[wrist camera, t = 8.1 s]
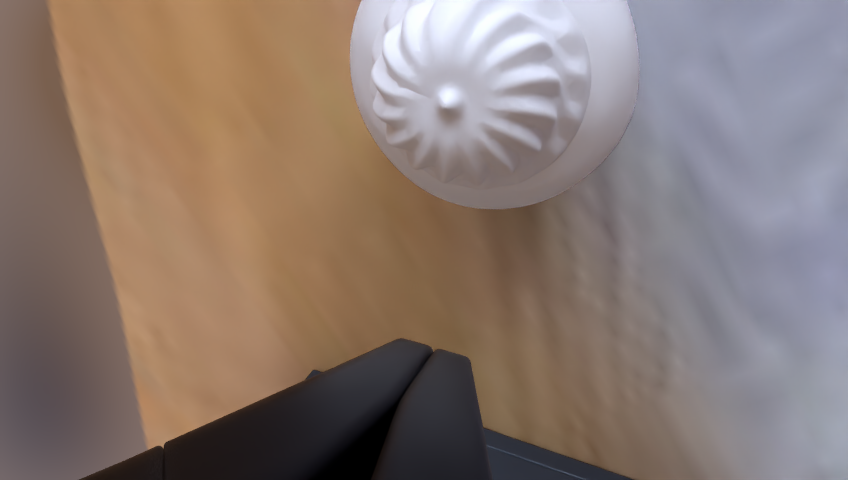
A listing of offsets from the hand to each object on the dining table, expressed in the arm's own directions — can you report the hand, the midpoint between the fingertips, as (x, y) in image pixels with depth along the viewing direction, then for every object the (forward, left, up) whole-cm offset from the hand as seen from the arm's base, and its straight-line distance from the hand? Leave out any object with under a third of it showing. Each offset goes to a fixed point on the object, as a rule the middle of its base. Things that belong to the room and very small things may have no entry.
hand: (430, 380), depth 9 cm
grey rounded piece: (+2, -2, -12) cm, 13 cm away
